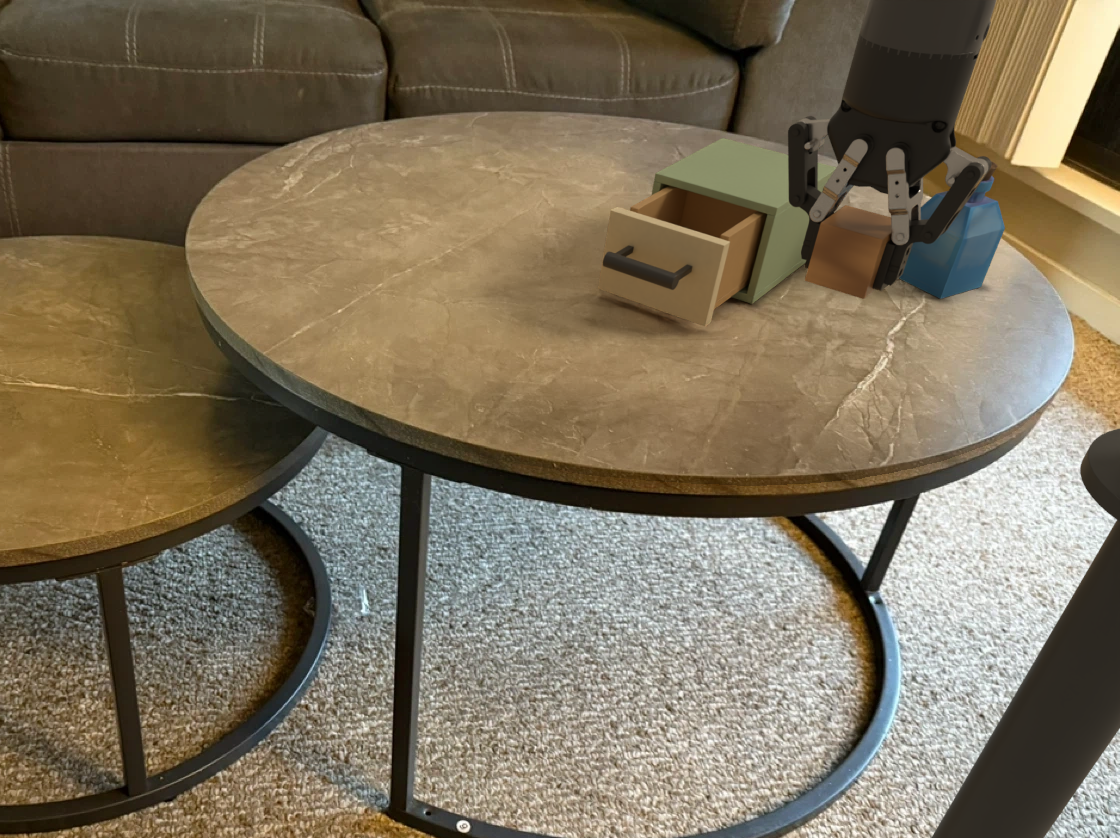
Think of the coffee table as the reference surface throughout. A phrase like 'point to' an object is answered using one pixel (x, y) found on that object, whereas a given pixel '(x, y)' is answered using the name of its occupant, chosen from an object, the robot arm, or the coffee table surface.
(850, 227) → the block
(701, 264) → the drawer
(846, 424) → the coffee table surface
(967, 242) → the perfume bottle
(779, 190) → the cabinet
